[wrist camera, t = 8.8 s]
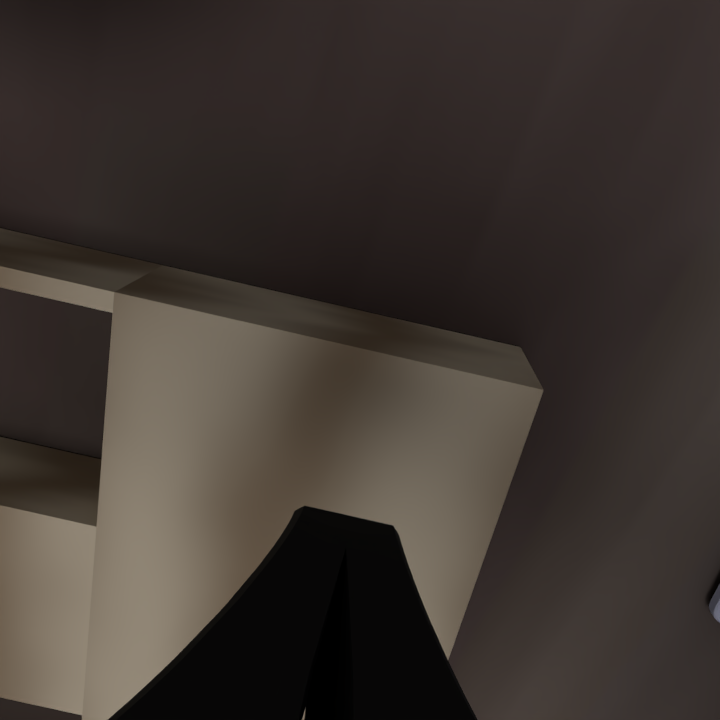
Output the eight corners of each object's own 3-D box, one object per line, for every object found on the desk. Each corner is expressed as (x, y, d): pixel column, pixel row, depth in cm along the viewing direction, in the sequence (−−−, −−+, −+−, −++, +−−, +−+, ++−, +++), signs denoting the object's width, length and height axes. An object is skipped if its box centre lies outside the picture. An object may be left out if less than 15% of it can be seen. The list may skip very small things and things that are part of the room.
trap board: (520, 347, 17) (559, 418, 13) (364, 821, 24) (355, 968, 20) (-274, 165, 17) (-503, 177, 12) (-196, 698, 24) (-325, 821, 19)
